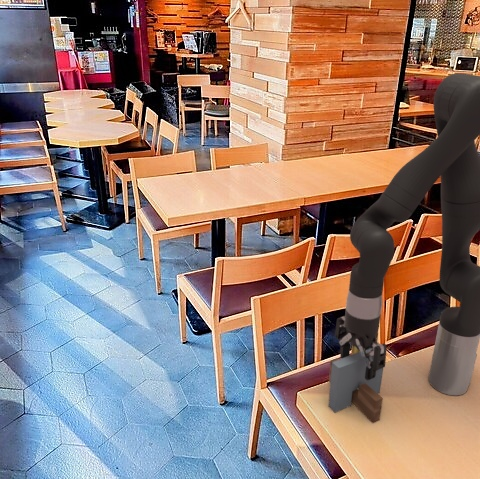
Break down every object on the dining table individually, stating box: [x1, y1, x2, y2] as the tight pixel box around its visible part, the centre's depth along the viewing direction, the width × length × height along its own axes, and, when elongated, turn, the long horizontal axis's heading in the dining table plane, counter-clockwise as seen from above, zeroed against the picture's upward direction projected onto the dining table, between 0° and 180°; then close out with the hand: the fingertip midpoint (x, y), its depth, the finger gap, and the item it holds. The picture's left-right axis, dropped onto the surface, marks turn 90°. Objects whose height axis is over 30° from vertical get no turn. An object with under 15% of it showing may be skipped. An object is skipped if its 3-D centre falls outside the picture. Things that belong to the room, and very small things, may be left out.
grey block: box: [328, 349, 384, 414], centre depth 108 cm, size 14×2×13 cm, turn 118°
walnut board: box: [328, 358, 384, 424], centre depth 109 cm, size 2×16×6 cm, turn 28°
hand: (356, 367), depth 107 cm, fingers open, 8 cm apart
